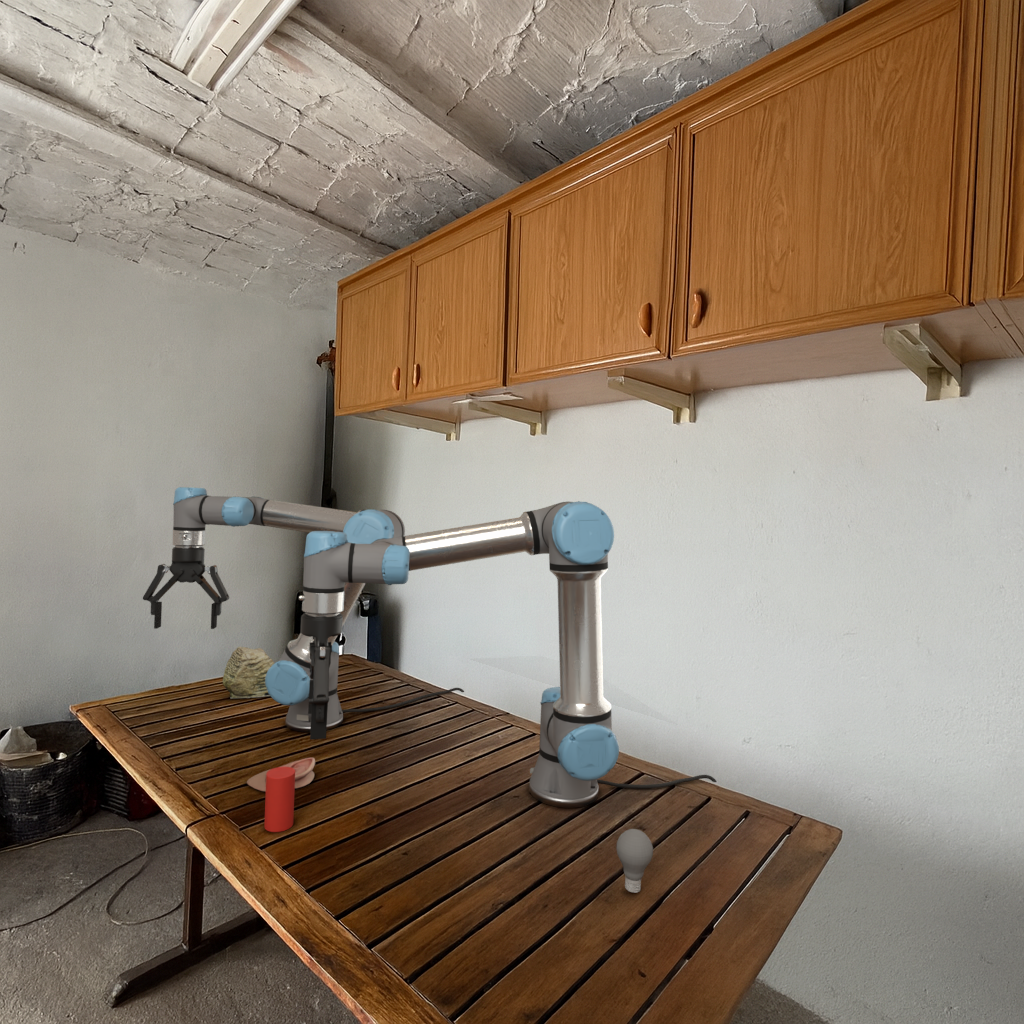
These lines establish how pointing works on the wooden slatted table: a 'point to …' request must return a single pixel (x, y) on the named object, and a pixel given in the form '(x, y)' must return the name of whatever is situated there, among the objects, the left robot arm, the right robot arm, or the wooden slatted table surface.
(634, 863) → the light bulb
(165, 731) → the wooden slatted table surface
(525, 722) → the wooden slatted table surface
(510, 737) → the wooden slatted table surface
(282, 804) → the cylinder
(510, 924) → the wooden slatted table surface
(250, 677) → the fossil
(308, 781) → the anatomical model
